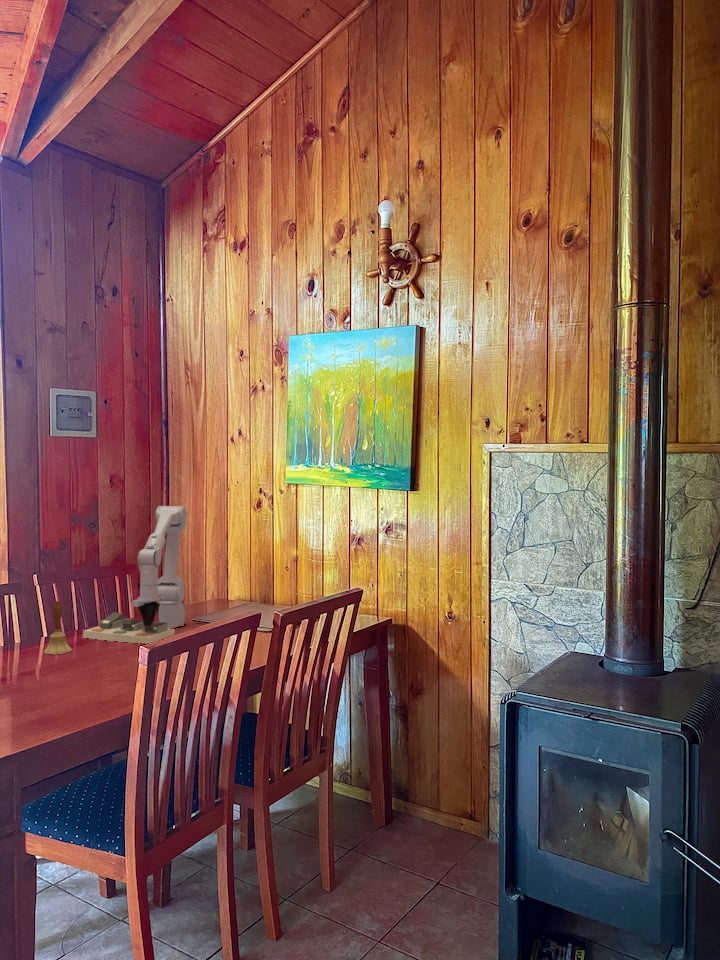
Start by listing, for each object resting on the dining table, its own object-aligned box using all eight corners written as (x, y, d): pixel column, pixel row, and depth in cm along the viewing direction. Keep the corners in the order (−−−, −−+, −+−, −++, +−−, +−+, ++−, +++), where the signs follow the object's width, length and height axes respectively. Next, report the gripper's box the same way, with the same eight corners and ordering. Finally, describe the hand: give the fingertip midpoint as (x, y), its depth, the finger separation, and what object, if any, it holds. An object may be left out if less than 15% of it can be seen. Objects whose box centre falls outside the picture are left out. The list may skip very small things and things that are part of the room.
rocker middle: (134, 625, 254) (135, 620, 254) (144, 626, 253) (145, 621, 253) (120, 623, 247) (121, 618, 247) (130, 624, 245) (131, 619, 246)
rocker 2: (156, 626, 251) (157, 621, 251) (166, 627, 250) (167, 622, 250) (142, 626, 244) (143, 621, 244) (152, 627, 242) (153, 622, 242)
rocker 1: (114, 616, 257) (113, 611, 257) (123, 617, 256) (122, 612, 255) (99, 627, 250) (98, 623, 250) (109, 628, 249) (108, 623, 248)
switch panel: (110, 629, 259) (110, 616, 259) (174, 636, 250) (174, 622, 250) (83, 638, 246) (83, 624, 246) (149, 645, 237) (149, 631, 237)
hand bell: (65, 655, 224) (65, 603, 224) (38, 654, 224) (38, 603, 224) (76, 648, 233) (76, 598, 232) (50, 648, 233) (50, 598, 232)
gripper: (152, 581, 252) (151, 620, 251) (125, 586, 238) (124, 628, 238) (169, 582, 249) (168, 622, 249) (143, 588, 235) (142, 629, 235)
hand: (148, 625), depth 243 cm, fingers closed, pressing on rocker 2
